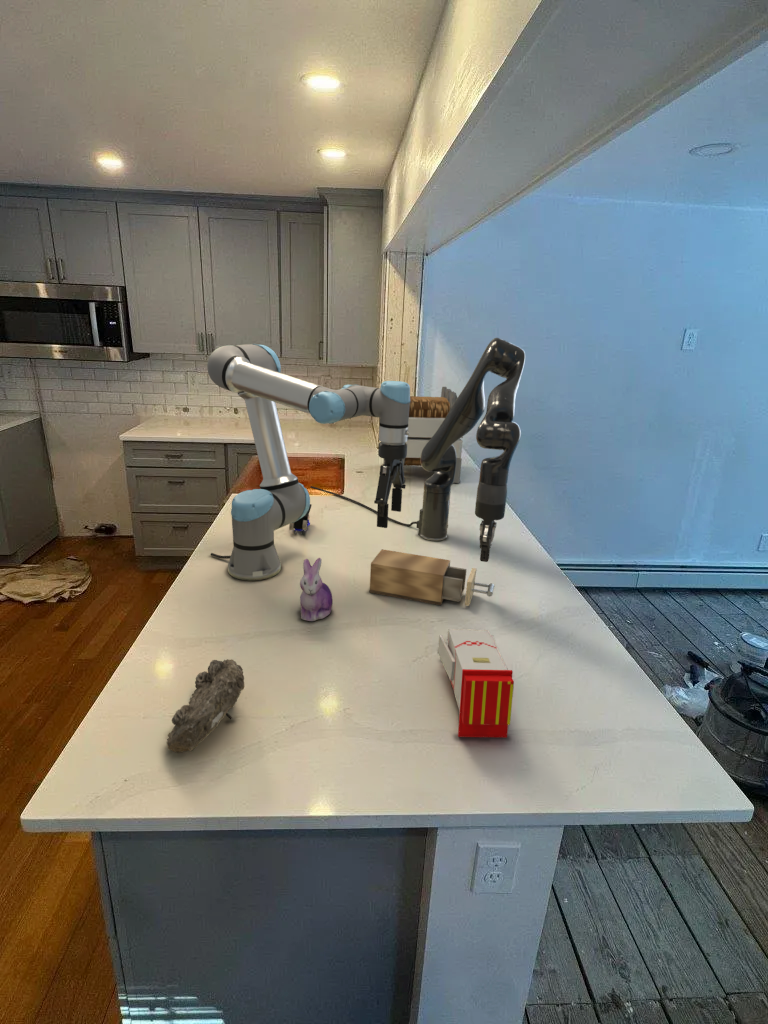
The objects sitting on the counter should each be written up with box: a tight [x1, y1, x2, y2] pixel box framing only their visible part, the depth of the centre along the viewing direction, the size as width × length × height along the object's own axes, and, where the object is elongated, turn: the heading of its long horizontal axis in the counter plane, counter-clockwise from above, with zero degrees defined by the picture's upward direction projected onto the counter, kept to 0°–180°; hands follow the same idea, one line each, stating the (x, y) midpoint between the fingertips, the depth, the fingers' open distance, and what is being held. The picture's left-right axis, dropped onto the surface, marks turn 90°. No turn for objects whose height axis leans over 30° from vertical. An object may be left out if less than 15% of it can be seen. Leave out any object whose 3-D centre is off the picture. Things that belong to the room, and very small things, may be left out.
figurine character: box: [288, 503, 313, 535], centre depth 199 cm, size 7×8×15 cm
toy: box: [437, 628, 515, 738], centre depth 117 cm, size 12×13×30 cm
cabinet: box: [369, 549, 451, 606], centre depth 158 cm, size 20×10×9 cm, turn 73°
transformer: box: [382, 386, 464, 484], centre depth 268 cm, size 34×33×41 cm
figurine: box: [299, 557, 333, 622], centre depth 143 cm, size 9×10×15 cm
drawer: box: [442, 565, 495, 607], centre depth 156 cm, size 25×9×7 cm, turn 73°
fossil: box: [166, 658, 245, 754], centre depth 106 cm, size 22×10×15 cm
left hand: (389, 518), depth 155 cm, fingers open, 13 cm apart
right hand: (484, 560), depth 151 cm, fingers closed
